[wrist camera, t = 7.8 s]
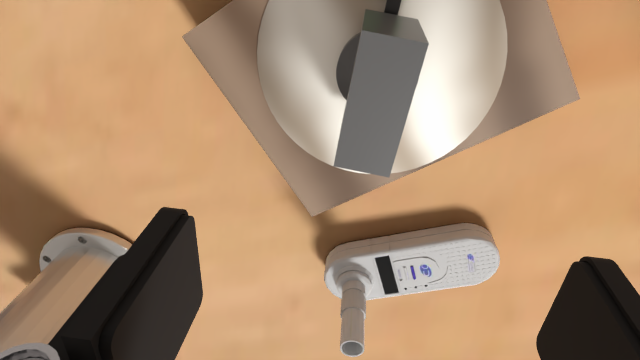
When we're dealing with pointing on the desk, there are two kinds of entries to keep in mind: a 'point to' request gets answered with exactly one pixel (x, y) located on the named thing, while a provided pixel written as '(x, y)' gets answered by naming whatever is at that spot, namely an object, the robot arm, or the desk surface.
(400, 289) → the electronic device
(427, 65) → the board
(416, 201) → the desk surface
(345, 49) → the dark grey boxy piece
